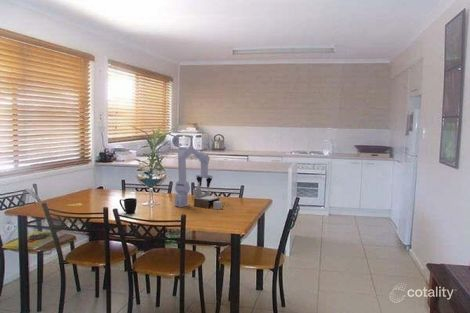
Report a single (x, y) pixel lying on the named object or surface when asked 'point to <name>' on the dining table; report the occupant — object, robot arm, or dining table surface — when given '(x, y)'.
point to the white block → (217, 205)
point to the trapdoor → (206, 197)
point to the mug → (129, 205)
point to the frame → (203, 202)
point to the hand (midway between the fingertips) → (204, 186)
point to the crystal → (199, 191)
